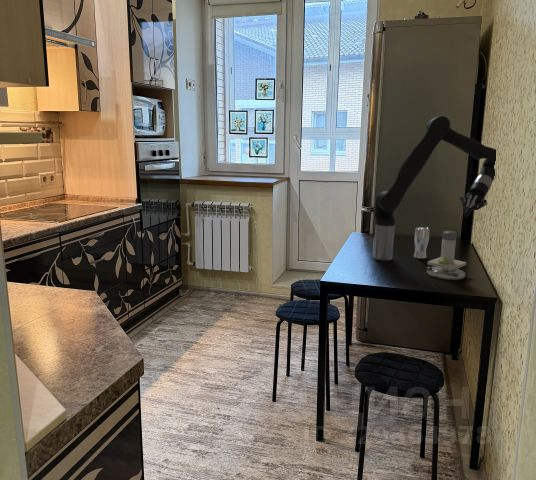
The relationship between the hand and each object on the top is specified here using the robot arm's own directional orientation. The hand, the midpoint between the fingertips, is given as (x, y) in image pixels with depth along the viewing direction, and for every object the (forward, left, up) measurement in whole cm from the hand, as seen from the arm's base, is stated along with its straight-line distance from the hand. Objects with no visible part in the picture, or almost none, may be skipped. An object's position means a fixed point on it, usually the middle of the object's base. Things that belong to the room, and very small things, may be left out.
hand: (465, 215), depth 214 cm
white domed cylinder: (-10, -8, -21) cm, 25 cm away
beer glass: (-12, +22, -26) cm, 35 cm away
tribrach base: (-10, -8, -26) cm, 29 cm away
